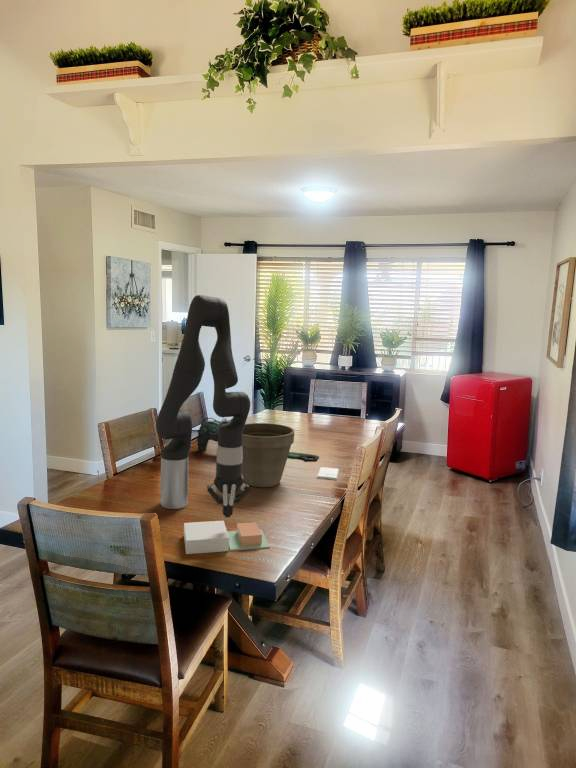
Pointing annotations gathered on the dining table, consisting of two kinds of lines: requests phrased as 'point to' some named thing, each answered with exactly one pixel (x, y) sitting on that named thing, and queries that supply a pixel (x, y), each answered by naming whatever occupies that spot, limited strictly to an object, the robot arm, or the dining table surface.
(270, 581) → the dining table surface
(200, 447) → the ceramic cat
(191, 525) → the block
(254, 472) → the plant pot
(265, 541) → the green mat
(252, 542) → the terracotta tile
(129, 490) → the dining table surface
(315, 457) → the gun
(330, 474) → the external hard drive
